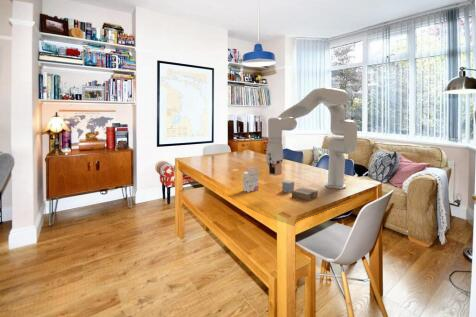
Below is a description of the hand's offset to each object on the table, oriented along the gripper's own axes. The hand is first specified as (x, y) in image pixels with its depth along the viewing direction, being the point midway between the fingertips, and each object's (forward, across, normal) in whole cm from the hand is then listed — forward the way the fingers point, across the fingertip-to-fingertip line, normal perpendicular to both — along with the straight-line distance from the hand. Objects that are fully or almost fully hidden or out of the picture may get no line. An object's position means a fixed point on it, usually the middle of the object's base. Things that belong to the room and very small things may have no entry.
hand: (275, 172), depth 142 cm
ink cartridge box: (+14, +1, -18) cm, 23 cm away
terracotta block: (+1, 0, 0) cm, 1 cm away
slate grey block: (+14, -13, 0) cm, 19 cm away
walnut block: (+15, -10, +13) cm, 22 cm away
